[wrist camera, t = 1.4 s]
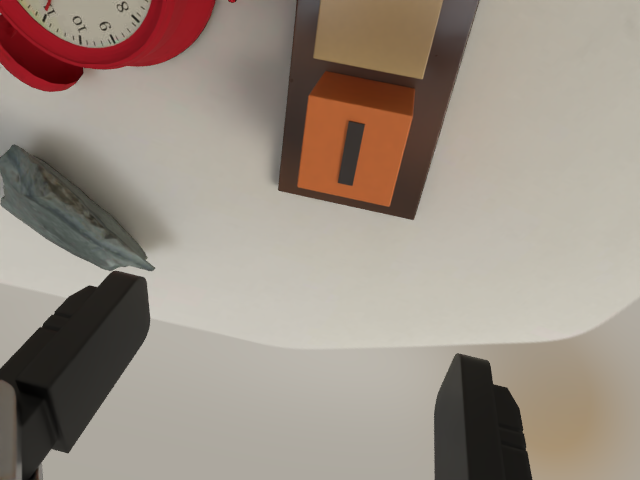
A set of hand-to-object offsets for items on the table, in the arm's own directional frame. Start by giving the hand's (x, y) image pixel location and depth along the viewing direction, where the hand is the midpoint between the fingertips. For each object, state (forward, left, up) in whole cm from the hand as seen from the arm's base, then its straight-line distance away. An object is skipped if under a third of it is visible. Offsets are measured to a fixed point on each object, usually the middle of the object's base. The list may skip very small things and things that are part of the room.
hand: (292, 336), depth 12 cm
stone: (+10, -18, -16) cm, 26 cm away
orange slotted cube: (0, 0, -15) cm, 15 cm away
